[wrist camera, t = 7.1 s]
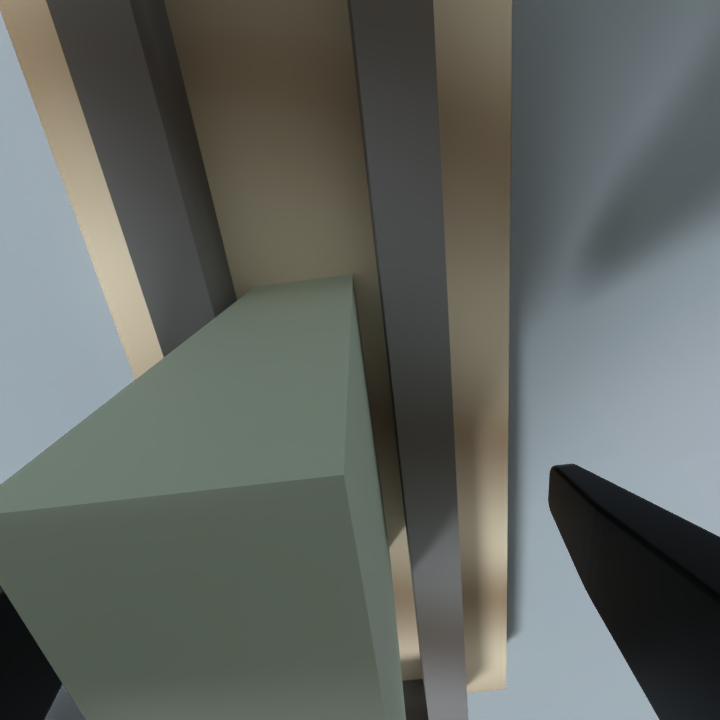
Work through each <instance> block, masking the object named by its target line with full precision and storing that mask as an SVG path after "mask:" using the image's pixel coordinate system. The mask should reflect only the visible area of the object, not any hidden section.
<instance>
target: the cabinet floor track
mask: <svg viewBox="0 0 720 720" xmlns="http://www.w3.org/2000/svg"><path fill="white" fill-rule="evenodd" d="M0 11H1V14H2V17H3V19H4V22H5V25H6V28H7V30H8V33H9V36H10V39H11V41H12V44H13V47H14V49H15V52H16V55H17V58H18V60H19V63H20V66H21V69H22V71H23V74H24V77H25V80H26V82H27V85H28V88H29V90H30V93H31V96H32V99H33V101H34V104H35V107H36V110H37V112H38V115H39V118H40V121H41V123H42V126H43V129H44V131H45V134H46V137H47V140H48V142H49V145H50V148H51V151H52V153H53V156H54V159H55V162H56V164H57V167H58V170H59V172H60V175H61V178H62V181H63V183H64V186H65V189H66V192H67V194H68V197H69V200H70V203H71V205H72V208H73V211H74V213H75V216H76V219H77V222H78V224H79V227H80V230H81V233H82V235H83V238H84V241H85V243H86V246H87V249H88V252H89V254H90V257H91V260H92V263H93V265H94V268H95V271H96V274H97V276H98V279H99V282H100V284H101V287H102V290H103V293H104V295H105V298H106V301H107V304H108V306H109V309H110V312H111V315H112V317H113V320H114V323H115V325H116V328H117V331H118V334H119V336H120V339H121V342H122V345H123V347H124V350H125V353H126V356H127V358H128V361H129V364H130V366H131V369H132V372H133V375H134V377H135V380H136V379H137V378H138V377H140V376H141V375H142V374H143V373H145V372H146V371H147V370H149V369H150V368H151V367H152V366H154V365H155V364H156V363H158V362H159V361H160V360H161V359H163V358H164V357H165V356H167V355H168V354H169V353H170V352H172V351H173V350H174V349H176V348H177V347H178V346H179V345H181V344H182V343H183V342H185V341H186V340H187V339H188V338H190V337H191V336H192V335H194V334H195V333H196V332H197V331H199V330H200V329H201V328H202V327H204V326H205V325H206V324H208V323H209V322H210V321H211V320H213V319H214V318H215V317H217V316H218V315H219V314H220V313H222V312H223V311H224V310H226V309H227V308H228V307H229V306H231V305H232V304H233V303H235V302H236V301H237V300H238V299H240V298H241V297H242V296H244V295H245V294H246V293H247V292H249V291H250V290H251V289H253V288H254V287H257V286H265V285H272V284H280V283H288V282H295V281H303V280H311V279H318V278H326V277H333V276H341V275H349V274H353V279H354V287H355V294H356V302H357V309H358V317H359V324H360V332H361V339H362V347H363V354H364V362H365V370H366V377H367V385H368V392H369V400H370V407H371V415H372V422H373V430H374V437H375V445H376V452H377V460H378V467H379V475H380V483H381V490H382V498H383V505H384V513H385V520H386V528H387V535H388V543H389V551H390V561H391V572H392V582H393V592H394V602H395V612H396V622H397V633H398V643H399V653H400V663H401V673H402V683H403V694H404V704H405V714H406V720H468V707H467V693H470V692H481V691H492V690H503V689H506V644H507V530H508V415H509V300H510V185H511V70H512V0H0Z"/></svg>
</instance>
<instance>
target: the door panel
mask: <svg viewBox="0 0 720 720" xmlns="http://www.w3.org/2000/svg"><path fill="white" fill-rule="evenodd" d="M0 585H1V587H2V588H3V590H4V592H5V593H6V595H7V596H8V598H9V600H10V601H11V603H12V604H13V606H14V608H15V609H16V611H17V612H18V614H19V615H20V617H21V619H22V620H23V622H24V623H25V625H26V627H27V628H28V630H29V631H30V633H31V635H32V636H33V638H34V639H35V641H36V642H37V644H38V646H39V647H40V649H41V650H42V652H43V654H44V655H45V657H46V658H47V660H48V661H49V663H50V665H51V666H52V668H53V669H54V671H55V673H56V674H57V676H58V677H59V679H60V681H61V682H62V684H63V685H64V687H65V688H66V690H67V692H68V693H69V695H70V696H71V698H72V700H73V701H74V703H75V704H76V706H77V708H78V709H79V711H80V712H81V714H82V715H83V717H84V719H85V720H406V714H405V704H404V694H403V683H402V673H401V663H400V653H399V643H398V633H397V622H396V612H395V602H394V592H393V582H392V572H391V561H390V551H389V543H388V535H387V528H386V520H385V513H384V505H383V498H382V490H381V483H380V475H379V467H378V460H377V452H376V445H375V437H374V430H373V422H372V415H371V407H370V400H369V392H368V385H367V377H366V370H365V362H364V354H363V347H362V339H361V332H360V324H359V317H358V309H357V302H356V294H355V287H354V279H353V274H349V275H341V276H333V277H326V278H318V279H311V280H303V281H295V282H288V283H280V284H272V285H265V286H257V287H254V288H253V289H251V290H250V291H249V292H247V293H246V294H245V295H244V296H242V297H241V298H240V299H238V300H237V301H236V302H235V303H233V304H232V305H231V306H229V307H228V308H227V309H226V310H224V311H223V312H222V313H220V314H219V315H218V316H217V317H215V318H214V319H213V320H211V321H210V322H209V323H208V324H206V325H205V326H204V327H202V328H201V329H200V330H199V331H197V332H196V333H195V334H194V335H192V336H191V337H190V338H188V339H187V340H186V341H185V342H183V343H182V344H181V345H179V346H178V347H177V348H176V349H174V350H173V351H172V352H170V353H169V354H168V355H167V356H165V357H164V358H163V359H161V360H160V361H159V362H158V363H156V364H155V365H154V366H152V367H151V368H150V369H149V370H147V371H146V372H145V373H143V374H142V375H141V376H140V377H138V378H137V379H136V380H134V381H133V382H132V383H131V384H129V385H128V386H127V387H126V388H124V389H123V390H122V391H120V392H119V393H118V394H117V395H115V396H114V397H113V398H111V399H110V400H109V401H108V402H106V403H105V404H104V405H102V406H101V407H100V408H99V409H97V410H96V411H95V412H93V413H92V414H91V415H90V416H88V417H87V418H86V419H84V420H83V421H82V422H81V423H79V424H78V425H77V426H75V427H74V428H73V429H72V430H70V431H69V432H68V433H66V434H65V435H64V436H63V437H61V438H60V439H59V440H57V441H56V442H55V443H54V444H52V445H51V446H50V447H49V448H47V449H46V450H45V451H43V452H42V453H41V454H40V455H38V456H37V457H36V458H34V459H33V460H32V461H31V462H29V463H28V464H27V465H25V466H24V467H23V468H22V469H20V470H19V471H18V472H16V473H15V474H14V475H13V476H11V477H10V478H9V479H7V480H6V481H5V482H4V483H2V484H1V485H0Z"/></svg>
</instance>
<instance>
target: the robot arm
mask: <svg viewBox="0 0 720 720" xmlns="http://www.w3.org/2000/svg"><path fill="white" fill-rule="evenodd" d="M548 502H549V508H550V511H551V513H552V516H553V518H554V520H555V522H556V525H557V527H558V529H559V531H560V534H561V536H562V538H563V540H564V543H565V545H566V547H567V549H568V552H569V554H570V556H571V558H572V561H573V563H574V565H575V567H576V570H577V572H578V574H579V576H580V578H581V581H582V583H583V585H584V587H585V589H586V591H587V593H588V595H589V596H590V598H591V600H592V602H593V604H594V606H595V607H596V609H597V611H598V613H599V614H600V616H601V618H602V620H603V621H604V623H605V625H606V627H607V628H608V630H609V632H610V634H611V635H612V637H613V639H614V641H615V642H616V644H617V646H618V648H619V649H620V651H621V653H622V655H623V656H624V658H625V660H626V662H627V663H628V665H629V667H630V669H631V670H632V672H633V674H634V676H635V677H636V679H637V681H638V683H639V684H640V686H641V688H642V690H643V691H644V693H645V695H646V697H647V698H648V700H649V702H650V704H651V705H652V707H653V709H654V711H655V713H656V714H657V716H658V718H659V720H720V537H719V536H717V535H715V534H713V533H711V532H709V531H707V530H705V529H703V528H701V527H699V526H697V525H695V524H693V523H691V522H689V521H687V520H685V519H683V518H681V517H679V516H677V515H675V514H673V513H671V512H669V511H667V510H665V509H663V508H661V507H659V506H657V505H655V504H653V503H651V502H649V501H647V500H645V499H643V498H641V497H639V496H637V495H635V494H633V493H631V492H629V491H627V490H625V489H623V488H621V487H619V486H617V485H615V484H613V483H611V482H609V481H607V480H605V479H603V478H601V477H599V476H597V475H595V474H593V473H592V472H590V471H588V470H586V469H584V468H582V467H580V466H578V465H575V464H564V465H555V466H553V467H552V468H551V470H550V477H549V495H548ZM61 685H62V682H61V681H60V679H59V677H58V676H57V674H56V673H55V671H54V669H53V668H52V666H51V665H50V663H49V661H48V660H47V658H46V657H45V655H44V654H43V652H42V650H41V649H40V647H39V646H38V644H37V642H36V641H35V639H34V638H33V636H32V635H31V633H30V631H29V630H28V628H27V627H26V625H25V623H24V622H23V620H22V619H21V617H20V615H19V614H18V612H17V611H16V609H15V608H14V606H13V604H12V603H11V601H10V600H9V598H8V596H7V595H6V593H5V592H4V590H3V588H2V587H1V585H0V720H44V719H45V717H46V715H47V713H48V711H49V709H50V707H51V705H52V703H53V701H54V699H55V697H56V695H57V693H58V691H59V689H60V687H61Z"/></svg>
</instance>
